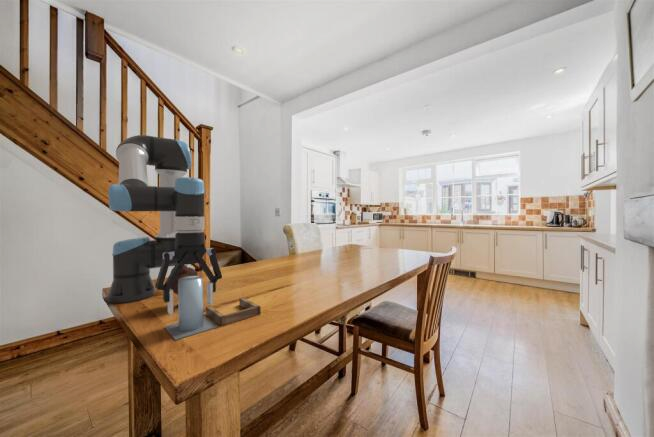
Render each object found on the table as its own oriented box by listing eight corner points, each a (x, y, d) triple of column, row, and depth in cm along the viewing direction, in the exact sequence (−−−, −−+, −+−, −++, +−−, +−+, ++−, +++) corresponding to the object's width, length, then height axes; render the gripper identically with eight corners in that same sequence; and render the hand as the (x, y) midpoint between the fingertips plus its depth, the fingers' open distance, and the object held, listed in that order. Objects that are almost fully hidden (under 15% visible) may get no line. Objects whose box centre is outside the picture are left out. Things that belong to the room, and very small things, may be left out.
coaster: (164, 327, 74) (164, 326, 74) (204, 316, 82) (204, 315, 82) (175, 340, 66) (175, 339, 66) (218, 327, 74) (218, 326, 74)
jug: (182, 333, 69) (181, 282, 69) (173, 323, 76) (172, 277, 76) (206, 326, 74) (206, 278, 74) (196, 317, 80) (195, 273, 80)
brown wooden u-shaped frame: (206, 313, 84) (205, 306, 84) (242, 304, 93) (242, 297, 93) (221, 326, 75) (221, 317, 75) (260, 313, 84) (260, 306, 84)
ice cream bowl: (187, 312, 85) (186, 267, 85) (159, 309, 88) (158, 266, 87) (208, 301, 96) (207, 262, 96) (182, 299, 98) (182, 261, 98)
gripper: (145, 234, 63) (147, 323, 63) (233, 230, 79) (234, 301, 79) (140, 233, 68) (141, 315, 69) (223, 229, 84) (224, 296, 84)
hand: (191, 307), depth 74 cm, fingers open, 10 cm apart
